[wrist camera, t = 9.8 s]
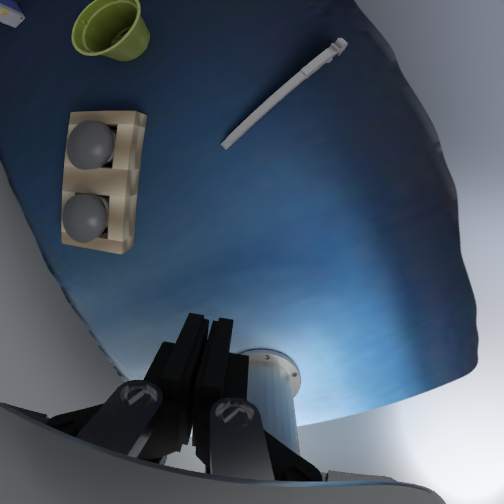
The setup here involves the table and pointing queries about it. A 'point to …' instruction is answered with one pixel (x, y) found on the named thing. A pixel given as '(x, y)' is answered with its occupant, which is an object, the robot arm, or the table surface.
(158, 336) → the table surface
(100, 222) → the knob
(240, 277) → the table surface
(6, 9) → the blue upright box
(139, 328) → the table surface
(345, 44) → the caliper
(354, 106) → the table surface
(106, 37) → the plant pot
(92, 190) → the mount
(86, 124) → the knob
